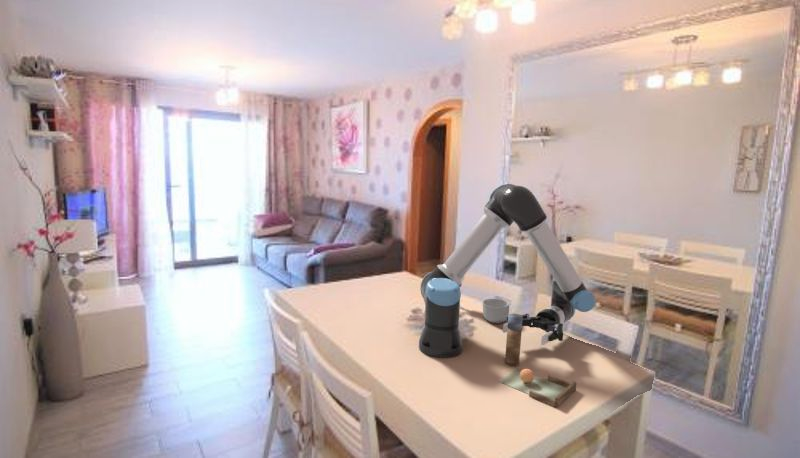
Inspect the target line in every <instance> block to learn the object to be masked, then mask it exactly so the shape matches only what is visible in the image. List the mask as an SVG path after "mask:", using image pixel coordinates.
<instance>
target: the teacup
mask: <svg viewBox="0 0 800 458" xmlns="http://www.w3.org/2000/svg"><path fill="white" fill-rule="evenodd" d="M509 314H510V302H509V301H508V300H506V299H503V298H494V297H490V298H488V299H487V298H486V299H484V300H482V315H483V317H484V319H485V320H487V322H489V323H493V324H502V323H504V322H505V321H506V320H507V317H508V315H509Z"/></svg>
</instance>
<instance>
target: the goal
mask: <svg viewBox="0 0 800 458" xmlns="http://www.w3.org/2000/svg"><path fill="white" fill-rule="evenodd" d="M522 370H523V369H519V368H516V369H515V370H513V371H512V372H510V373H508V374H507V375H506V376H504V377H502V378H500V380H498V382H499V383H501V384H503V385H506V386H508V387H511V388H513V389H515V390H517V391H520V392H523V393H524V394H527V395H528V396H529V397H530V398H533V399H535V400H537V401H539V402H541V403H543V404H547V405H549V406H552V407H553V408H556V409H557V408H559V407H560V406H561V405H562V404H563V403H564V402H565V401H566V400H567V399H568V398H569V397H571V395H572V394H573V393H575V391H576V390H577V383H578V382H577V381H576V380H573V381H572V382H568V381H566V380H563V379H560V378H558V377H556V376H553V375H550V374H548V376H547V379H545V378H542V377H540V376H537V375H534V379H533V381H532V382H530V383H525V382H523V381H522V380H521V378H520V372H521V371H522Z"/></svg>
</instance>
